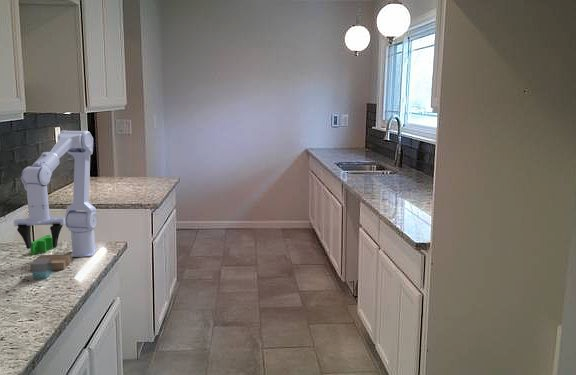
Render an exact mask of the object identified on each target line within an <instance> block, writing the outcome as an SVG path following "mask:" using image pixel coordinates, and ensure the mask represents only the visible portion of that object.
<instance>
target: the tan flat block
mask: <svg viewBox="0 0 576 375" xmlns="http://www.w3.org/2000/svg"><path fill="white" fill-rule="evenodd" d="M38 258H51V259H52V271H65V269H66V268H67V267H68V266H69V265H70V264H71V262H72V257H71V253H66V254H64V253H62V254H40V255H39V256H38V257H37V258H35V260H33V261H32V263H31V264H30V265H31V267H32V264H33V263H34V262H35V261H36V260H37V259H38Z"/></svg>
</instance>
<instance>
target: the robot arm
mask: <svg viewBox="0 0 576 375" xmlns="http://www.w3.org/2000/svg"><path fill="white" fill-rule="evenodd" d="M93 152H94V137H93V136H92V134H91V132H90V131H88V130H65V129H63V130H61V131H60V132H59V133H58V134H57V141H56V143H55V144H54V146H53V147H52V148H51V150H50V151H44V152H42V153H41V155H40V156H39V158H37V159H36V161H35V162H33V164H32V165H31V166H29V165H28V166H26V167H25V168H24V169H23V170H22V172H21V176H20V180H21V183H22V184H23V187H24V190H25V191H26V195H27V206H28V208H27V209H28V217H25V218H23V217H22V218H16V219H13V225H14V227H17V228H16V230H17V233H18V234H19V235H20V236H21V237H22V239H23V241H24V244H25V246H26V249H27V250H30V248H31V242H32V238H31V234H32V233H31V229H32V228H31V226H50V227H49V230H50V233H51V234H50V235H51V237H52V245H53V249H56V248H57V247H58V240H59V238H60V237H59V236H60V232H61V230H62V229H63V226H64V225H65V228H66V229H68V231H69V232H70V235H71V236H70V237H71V249H72V250H71V253H70V254H71V258H76V257H77V258H78V257H81V258H85V257H93V256H94V255H95V254H96V252H97V250H99V247H96V237H95V231H94V229H95V228H96V226H97V224H98V215H97V208H96V207H95V206H94V205H93V204H91V203H90V202H89V200H90V177H91V176H90V174H91V173H90V171H91V155H93ZM66 153H68V154H69V155H71V156H72V157H73V159H74V162H73V163H74V168H73V172H74V173H73V197H72V202H71V204H69V205H68V206H67V207H66V212H65V216H64V217H55V216H50V208H49V207H50V205H49V195H48V185H49V184H50V182H51V177H52V176H53V172H54V171H55V169H56V168H57V167H58V166H59V165H60V158H62V157H63V156H64V155H65V154H66Z"/></svg>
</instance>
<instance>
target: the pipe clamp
mask: <svg viewBox="0 0 576 375" xmlns="http://www.w3.org/2000/svg"><path fill="white" fill-rule="evenodd" d="M53 249H54V248H53V245H52V234H46V235H44V236H43V237H42V236H41V237H40V238H38V239H36V240H34V241H31V248H30V249H29V251H30V255H31V256H34V255H36V254H38V253H41V254H42V253H44V254H46V253H47V250H53Z"/></svg>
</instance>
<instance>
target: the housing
mask: <svg viewBox="0 0 576 375" xmlns="http://www.w3.org/2000/svg"><path fill="white" fill-rule="evenodd" d="M37 258H38V257H37ZM37 258H36V259H37ZM36 259H35V260H36ZM35 260H34V261H35ZM34 261H33V262H34ZM33 262H32V263H33ZM53 271H54V270H52V259H51V258H38V259H37V260H36V261H35V262H34V263H33V264H32V266H31V272H32V279H33V280H46V279H48V278H49V277H51V275H52V274H53Z"/></svg>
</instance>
